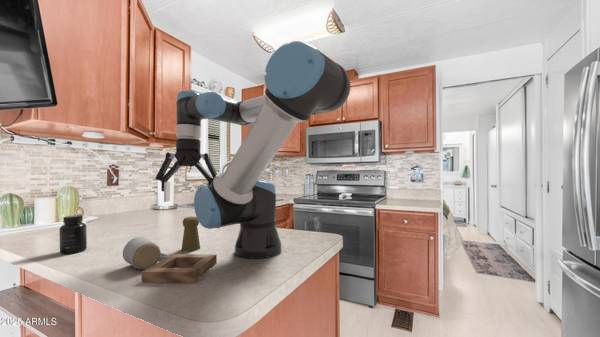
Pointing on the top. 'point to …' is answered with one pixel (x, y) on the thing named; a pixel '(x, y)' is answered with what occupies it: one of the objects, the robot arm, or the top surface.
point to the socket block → (169, 274)
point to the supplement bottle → (73, 235)
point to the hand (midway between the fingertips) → (187, 201)
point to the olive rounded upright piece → (190, 234)
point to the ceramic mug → (142, 253)
